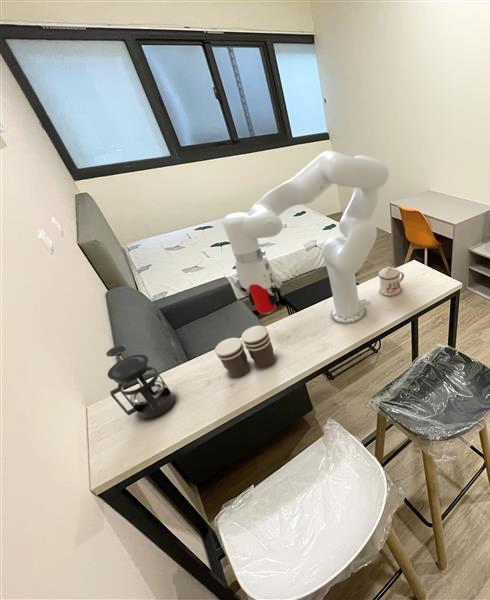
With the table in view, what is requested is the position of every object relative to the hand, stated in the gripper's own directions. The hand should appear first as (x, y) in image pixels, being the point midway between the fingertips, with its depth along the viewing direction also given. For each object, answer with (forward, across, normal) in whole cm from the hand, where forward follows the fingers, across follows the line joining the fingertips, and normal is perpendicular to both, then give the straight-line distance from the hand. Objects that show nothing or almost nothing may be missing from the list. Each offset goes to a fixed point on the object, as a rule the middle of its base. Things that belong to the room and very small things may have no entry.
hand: (264, 302), depth 108 cm
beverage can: (+3, 0, 0) cm, 3 cm away
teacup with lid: (+16, -39, -34) cm, 55 cm away
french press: (+17, +25, +30) cm, 43 cm away
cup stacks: (+17, +4, +13) cm, 21 cm away
